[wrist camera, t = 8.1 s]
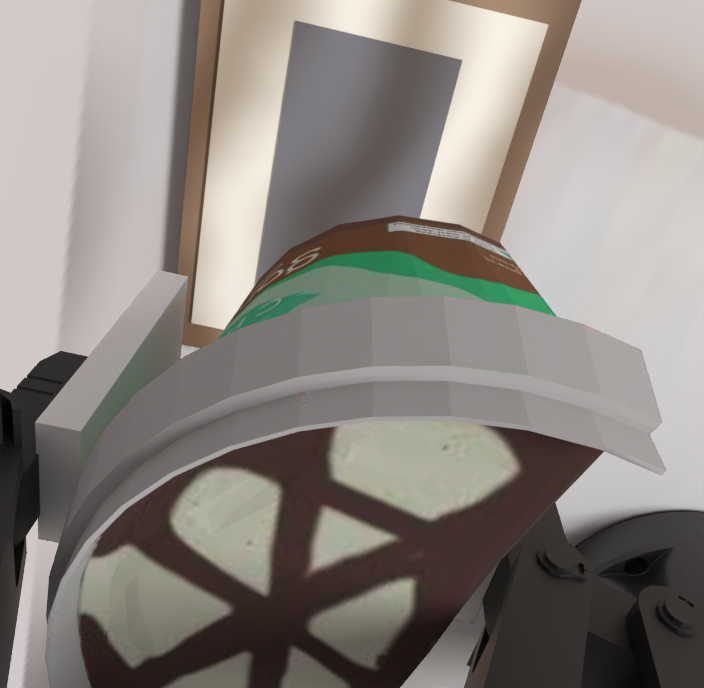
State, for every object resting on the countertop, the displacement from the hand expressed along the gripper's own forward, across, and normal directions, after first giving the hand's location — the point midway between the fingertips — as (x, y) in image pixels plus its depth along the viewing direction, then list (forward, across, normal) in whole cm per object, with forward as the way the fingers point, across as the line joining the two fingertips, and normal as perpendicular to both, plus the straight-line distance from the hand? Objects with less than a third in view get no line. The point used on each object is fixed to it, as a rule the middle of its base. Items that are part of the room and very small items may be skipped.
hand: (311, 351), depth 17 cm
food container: (+1, 0, 0) cm, 1 cm away
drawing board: (+16, 0, 0) cm, 16 cm away
